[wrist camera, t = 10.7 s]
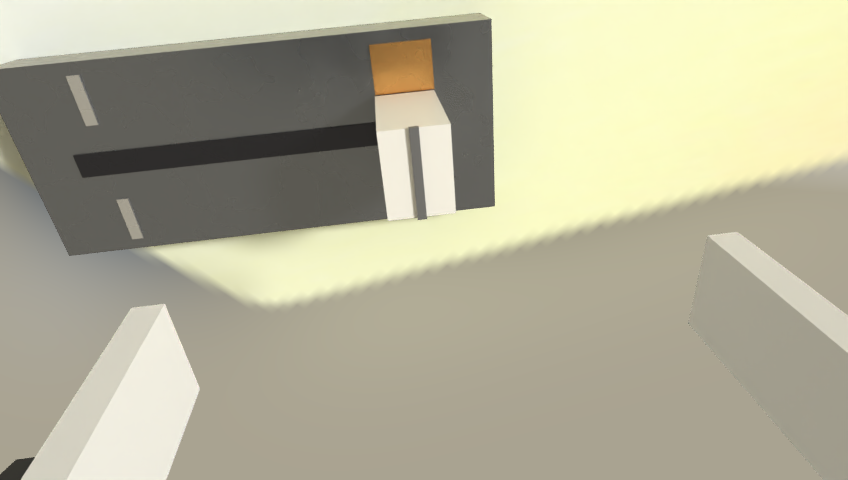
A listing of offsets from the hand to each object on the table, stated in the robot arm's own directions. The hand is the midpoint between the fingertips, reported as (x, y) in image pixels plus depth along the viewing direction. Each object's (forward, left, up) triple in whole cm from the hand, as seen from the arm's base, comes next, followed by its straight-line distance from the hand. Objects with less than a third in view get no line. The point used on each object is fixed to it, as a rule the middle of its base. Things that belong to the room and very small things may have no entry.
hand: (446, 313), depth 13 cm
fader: (0, 0, -16) cm, 16 cm away
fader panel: (0, -7, -19) cm, 21 cm away
